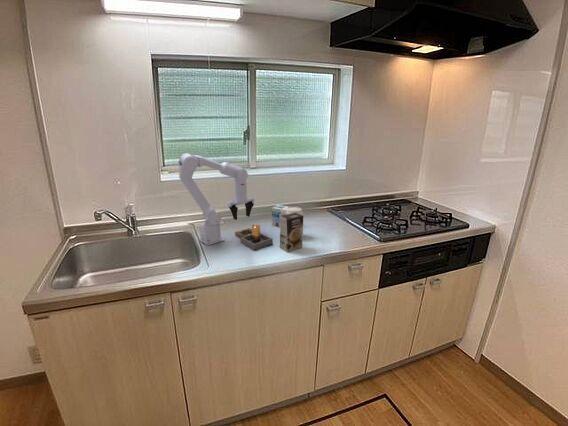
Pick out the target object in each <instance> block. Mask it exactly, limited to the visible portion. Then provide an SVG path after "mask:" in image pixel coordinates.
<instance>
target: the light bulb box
mask: <svg viewBox="0 0 568 426" xmlns="http://www.w3.org/2000/svg"><path fill="white" fill-rule="evenodd" d="M290 207H291V206H287V205H282V204H276V205H274V206H273V207H271V227H275V228H276V227H277V228H280V216H282V215H286V212H287V210H288V208H290Z"/></svg>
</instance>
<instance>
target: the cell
mask: <svg viewBox="0 0 568 426" xmlns="http://www.w3.org/2000/svg"><path fill="white" fill-rule="evenodd" d="M251 229H252V243H254V244H255V243H258V242H260V233H261V225H260V224H258V223H256V224H253V225H251Z"/></svg>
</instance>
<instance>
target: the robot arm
mask: <svg viewBox="0 0 568 426" xmlns="http://www.w3.org/2000/svg"><path fill="white" fill-rule="evenodd" d="M177 164H178V177H179V180H180V181H181V182H182V184H183V185H184V187H185V188H186V190H187V191H188V193H189V194H190V195H191V197H192V199H193V200H194V201H195V202H196V205H197V206H198V207H199V208H200V210H201V212H202V216H203V218H204V219H205V220H204V224H202V225H201V226H199V238H200V239H199V241H201V242H202V243H203V244H205V245H206V246H209V245H214V244H217V243H219V242H223V241H225V239H224V238H222V237H221V221H222V217H221V214H219V212H217V211H216V210H215V209H214V208H213V207H212V205H211V203H210V202H209V201H208V200H207V198H206V196H205V195H204V194H203V192H202V191H201V189H200V188H199V186H198V185H197V183H196V181H195V180H194V179H193V176H194V172H195V171H196V170H197V169H198V167H199V168H202V167H204V166H205V167H208V168H210V169H211V168H212V169H215V170H217V171H219V173H220V174H221V175H225V176H228V177H230V178H234V195H235V196H234V197H235V198H234V200H231V201H228V202H227V207H228V208H229V211H231V214H232V217H233V220H236V221H237V220H238V211H239V207H238V206H239V205H244V206H245V216H246V217H250V215H251V212H252V208H253V207H254V202H255V198H254V197H248V195H247V179H248V177H249V173H248V171H247V169H245V168H244V167H243V168H242V167H241V166H239V165H235V164H231V162H229V161H226V162H225V161H224V162H221V163H220V162H217V161H215V160H212V159H209V158H206V157H204V156H201V155H196V154H190V153H187V152H185V153H182V154H181V155H180V157H179V160H178V163H177Z"/></svg>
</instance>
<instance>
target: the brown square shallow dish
mask: <svg viewBox="0 0 568 426" xmlns="http://www.w3.org/2000/svg"><path fill="white" fill-rule="evenodd" d="M234 234H235V235H234V236H235V237H237V238H238V239H241V237H244V236H247V235H251V234H252V228H250V227H248V228H244V229H240V230H238V231H235V232H234Z"/></svg>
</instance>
